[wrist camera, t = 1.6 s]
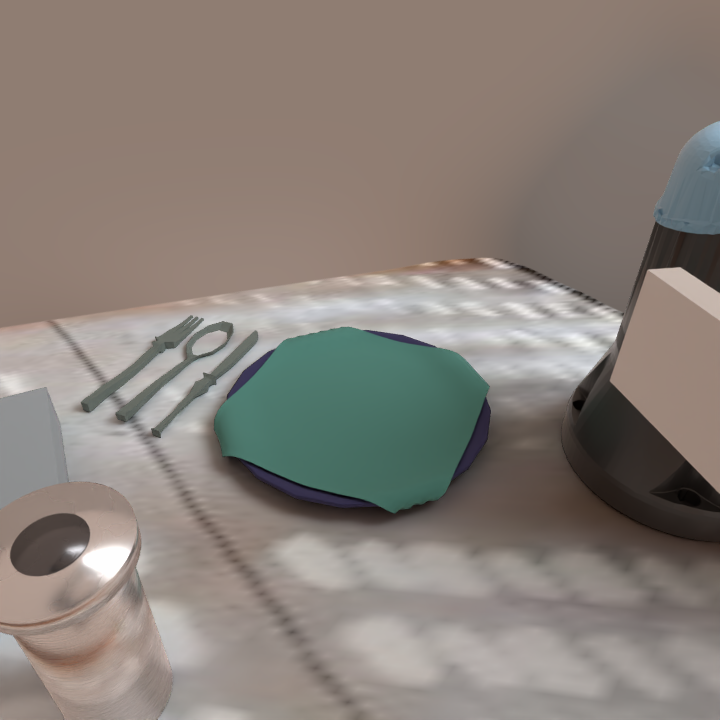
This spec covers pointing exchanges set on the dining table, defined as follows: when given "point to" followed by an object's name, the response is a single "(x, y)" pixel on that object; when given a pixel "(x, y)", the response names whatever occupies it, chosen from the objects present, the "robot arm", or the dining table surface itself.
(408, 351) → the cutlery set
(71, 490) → the bushing
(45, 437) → the jig
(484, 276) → the dining table surface
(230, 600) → the dining table surface
